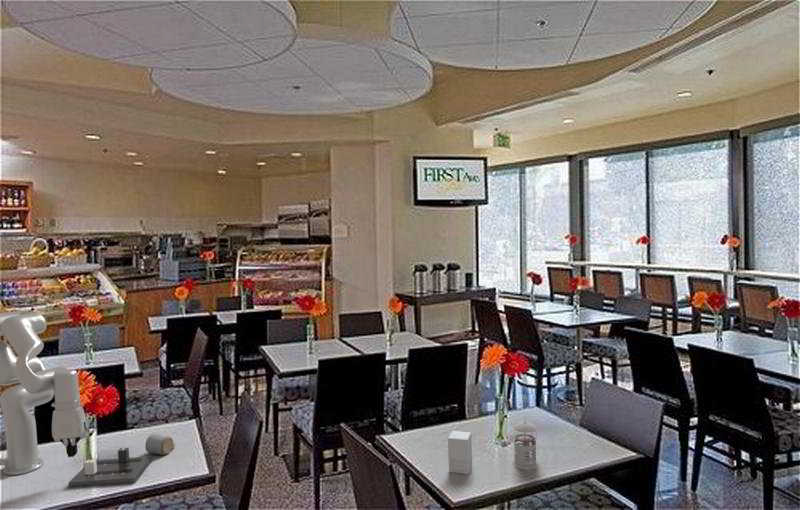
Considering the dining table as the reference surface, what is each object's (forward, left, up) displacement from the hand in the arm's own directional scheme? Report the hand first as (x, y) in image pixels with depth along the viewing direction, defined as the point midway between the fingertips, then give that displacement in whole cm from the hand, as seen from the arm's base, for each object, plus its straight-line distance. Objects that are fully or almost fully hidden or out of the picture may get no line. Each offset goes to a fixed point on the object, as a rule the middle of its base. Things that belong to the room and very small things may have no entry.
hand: (72, 455), depth 200 cm
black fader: (+14, +9, -7) cm, 18 cm away
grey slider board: (+12, +3, -9) cm, 15 cm away
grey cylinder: (+24, +21, -10) cm, 34 cm away
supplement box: (+138, -14, -10) cm, 139 cm away
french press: (+163, -13, -10) cm, 164 cm away
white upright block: (+6, 0, -7) cm, 9 cm away
